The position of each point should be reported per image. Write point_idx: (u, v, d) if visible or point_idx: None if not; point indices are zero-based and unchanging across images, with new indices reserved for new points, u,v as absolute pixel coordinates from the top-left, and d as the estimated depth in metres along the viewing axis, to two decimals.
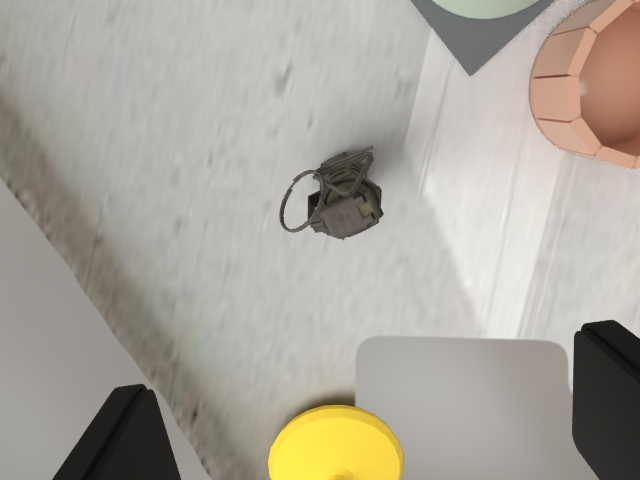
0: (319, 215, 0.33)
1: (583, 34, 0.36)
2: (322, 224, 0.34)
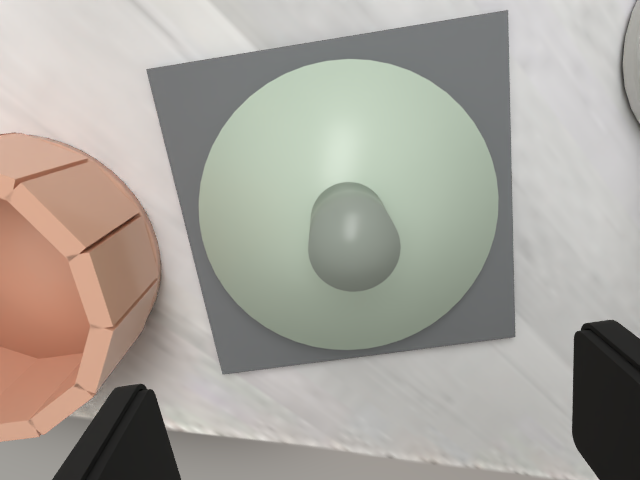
0: None
1: (78, 238, 0.19)
2: None
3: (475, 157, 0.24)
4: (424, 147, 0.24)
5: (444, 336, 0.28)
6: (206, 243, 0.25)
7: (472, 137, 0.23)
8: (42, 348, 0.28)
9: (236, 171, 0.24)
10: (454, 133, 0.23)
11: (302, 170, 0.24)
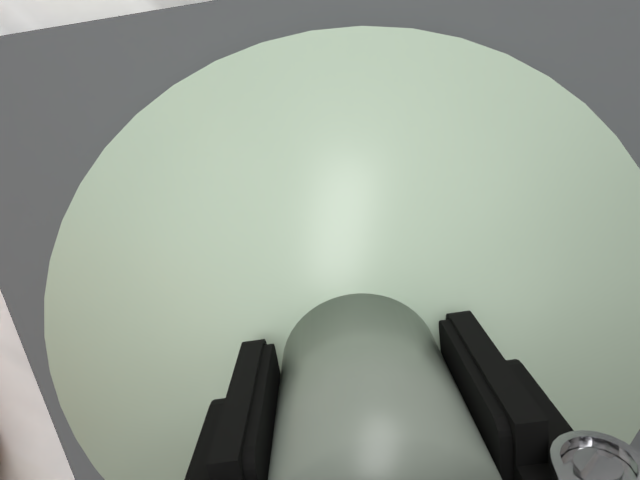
0: None
1: None
2: None
3: (634, 242, 0.11)
4: (528, 222, 0.11)
5: None
6: (69, 412, 0.12)
7: (632, 200, 0.11)
8: None
9: (119, 274, 0.11)
10: (595, 193, 0.11)
11: (261, 271, 0.11)
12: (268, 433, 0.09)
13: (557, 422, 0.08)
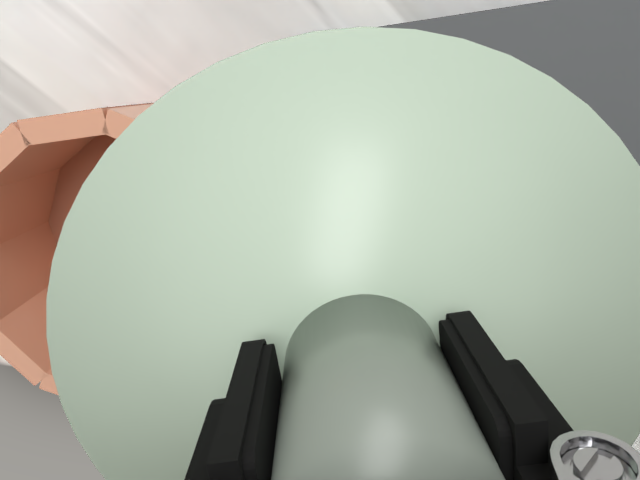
0: None
1: None
2: None
3: (636, 243, 0.11)
4: (531, 222, 0.11)
5: None
6: (71, 413, 0.12)
7: (634, 201, 0.11)
8: None
9: (121, 275, 0.11)
10: (597, 193, 0.11)
11: (263, 272, 0.11)
12: (268, 433, 0.09)
13: (557, 423, 0.08)
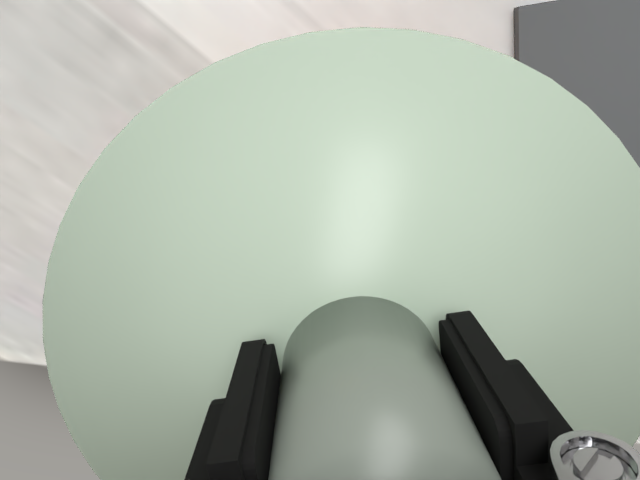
0: None
1: None
2: None
3: (636, 245, 0.11)
4: (530, 224, 0.11)
5: None
6: (68, 415, 0.12)
7: (633, 203, 0.11)
8: None
9: (118, 276, 0.11)
10: (596, 195, 0.11)
11: (261, 274, 0.11)
12: (268, 433, 0.09)
13: (556, 422, 0.08)
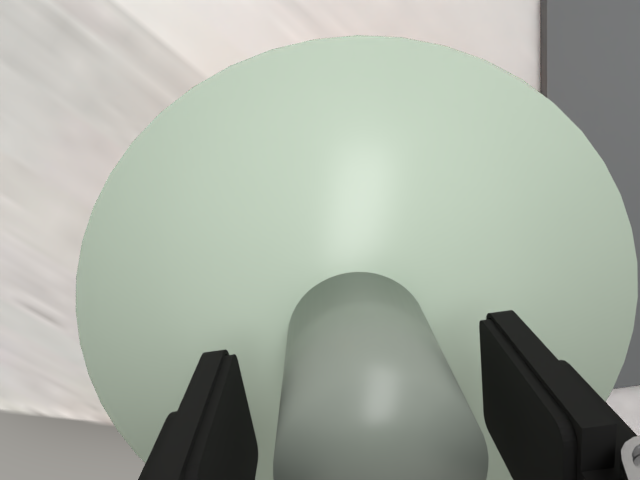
0: None
1: None
2: None
3: (600, 226, 0.12)
4: (506, 207, 0.12)
5: None
6: (96, 380, 0.14)
7: (597, 188, 0.12)
8: None
9: (143, 254, 0.12)
10: (564, 182, 0.12)
11: (269, 252, 0.13)
12: (220, 448, 0.09)
13: None
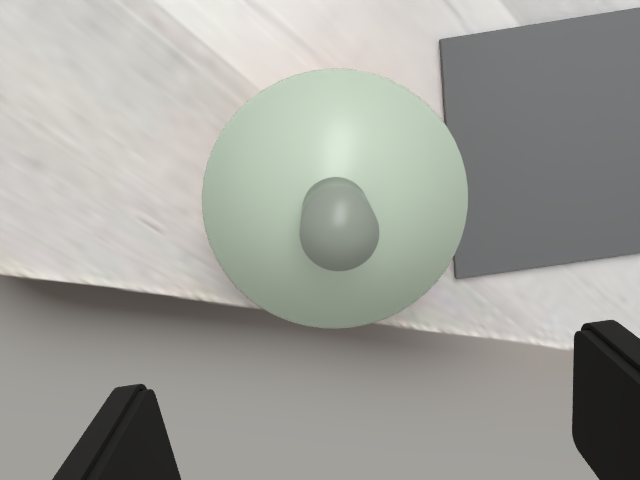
0: None
1: None
2: None
3: (446, 154, 0.27)
4: (402, 145, 0.27)
5: (630, 246, 0.36)
6: (209, 232, 0.28)
7: (443, 137, 0.27)
8: None
9: (235, 168, 0.27)
10: (428, 133, 0.26)
11: (293, 167, 0.27)
12: None
13: None
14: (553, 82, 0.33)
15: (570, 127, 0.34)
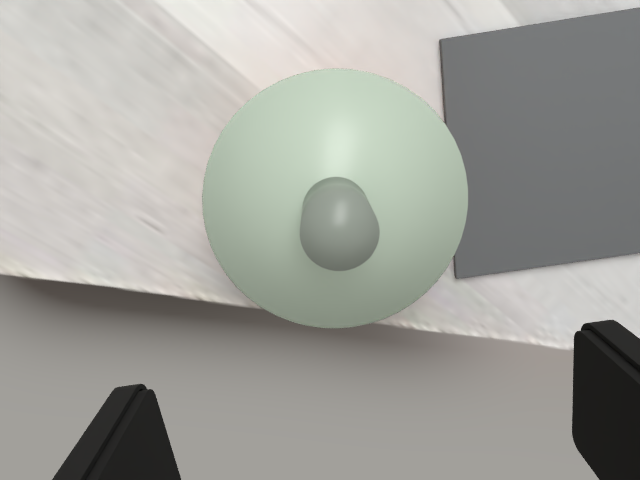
0: None
1: None
2: None
3: (446, 154, 0.27)
4: (402, 145, 0.27)
5: (630, 246, 0.36)
6: (209, 232, 0.28)
7: (443, 136, 0.27)
8: None
9: (236, 167, 0.27)
10: (428, 133, 0.27)
11: (294, 166, 0.27)
12: None
13: None
14: (553, 82, 0.33)
15: (570, 127, 0.34)
